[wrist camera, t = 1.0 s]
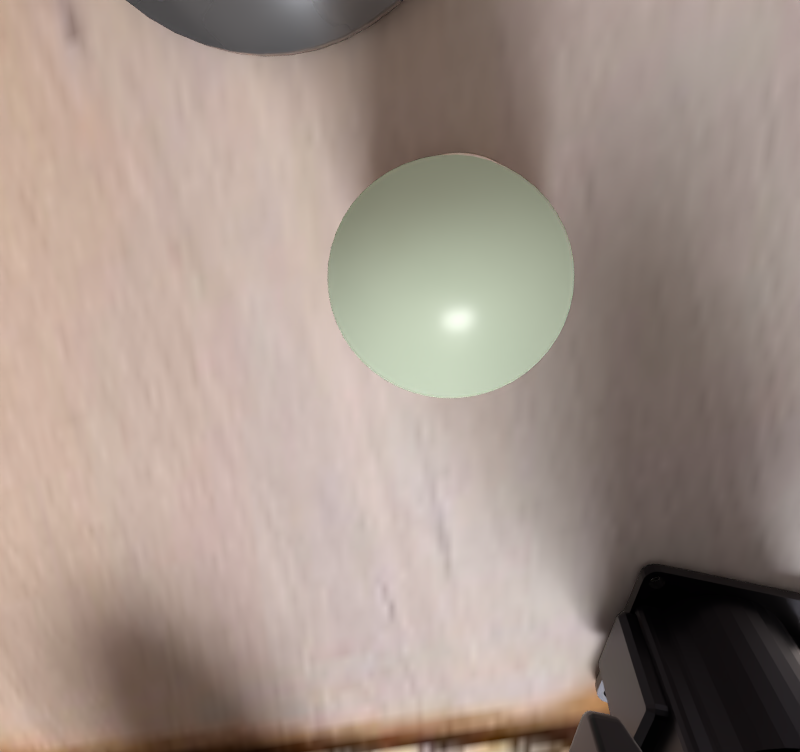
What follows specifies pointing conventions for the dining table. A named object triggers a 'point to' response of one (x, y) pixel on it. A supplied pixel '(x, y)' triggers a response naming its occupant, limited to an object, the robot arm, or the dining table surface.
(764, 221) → the dining table surface
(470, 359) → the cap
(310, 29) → the collar
